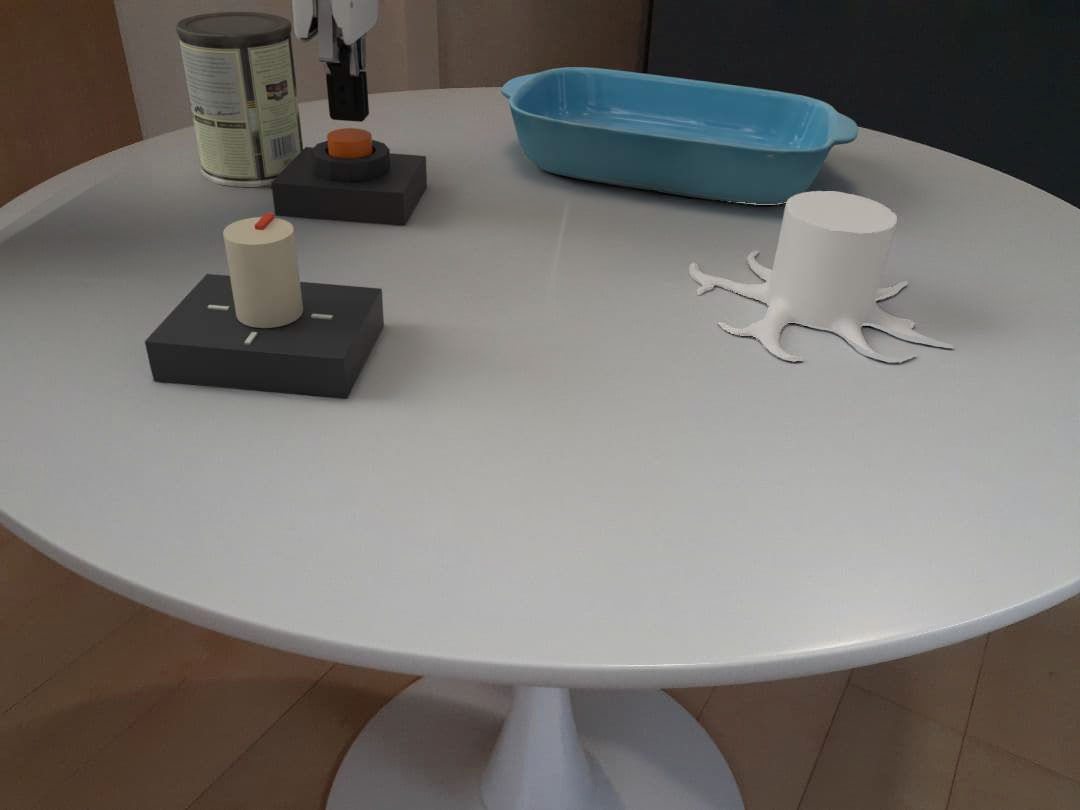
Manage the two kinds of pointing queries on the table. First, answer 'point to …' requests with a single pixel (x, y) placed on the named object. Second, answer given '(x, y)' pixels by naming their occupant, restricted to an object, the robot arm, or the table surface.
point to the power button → (349, 143)
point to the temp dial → (264, 271)
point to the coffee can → (242, 95)
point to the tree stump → (821, 270)
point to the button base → (351, 186)
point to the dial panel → (268, 341)
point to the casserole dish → (674, 133)
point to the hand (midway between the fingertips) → (349, 117)
